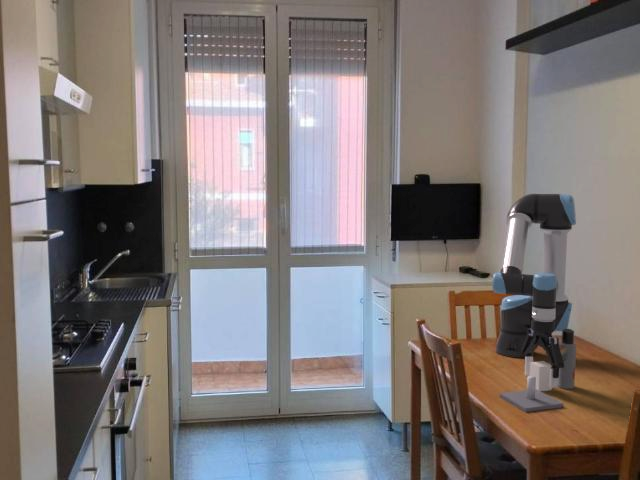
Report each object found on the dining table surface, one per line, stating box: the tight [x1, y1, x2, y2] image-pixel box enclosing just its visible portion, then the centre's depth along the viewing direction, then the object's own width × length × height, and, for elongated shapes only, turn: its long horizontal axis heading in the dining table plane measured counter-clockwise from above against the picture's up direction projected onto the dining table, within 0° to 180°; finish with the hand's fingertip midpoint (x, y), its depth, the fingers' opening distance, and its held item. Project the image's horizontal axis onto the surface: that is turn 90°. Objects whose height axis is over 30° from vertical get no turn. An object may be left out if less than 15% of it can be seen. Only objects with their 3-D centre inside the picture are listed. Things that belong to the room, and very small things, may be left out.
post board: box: [499, 375, 564, 413], centre depth 209 cm, size 14×14×8 cm
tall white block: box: [529, 360, 553, 392], centre depth 222 cm, size 5×5×9 cm
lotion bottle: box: [557, 328, 577, 390], centre depth 224 cm, size 6×6×20 cm
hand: (540, 380), depth 222 cm, fingers open, 13 cm apart
